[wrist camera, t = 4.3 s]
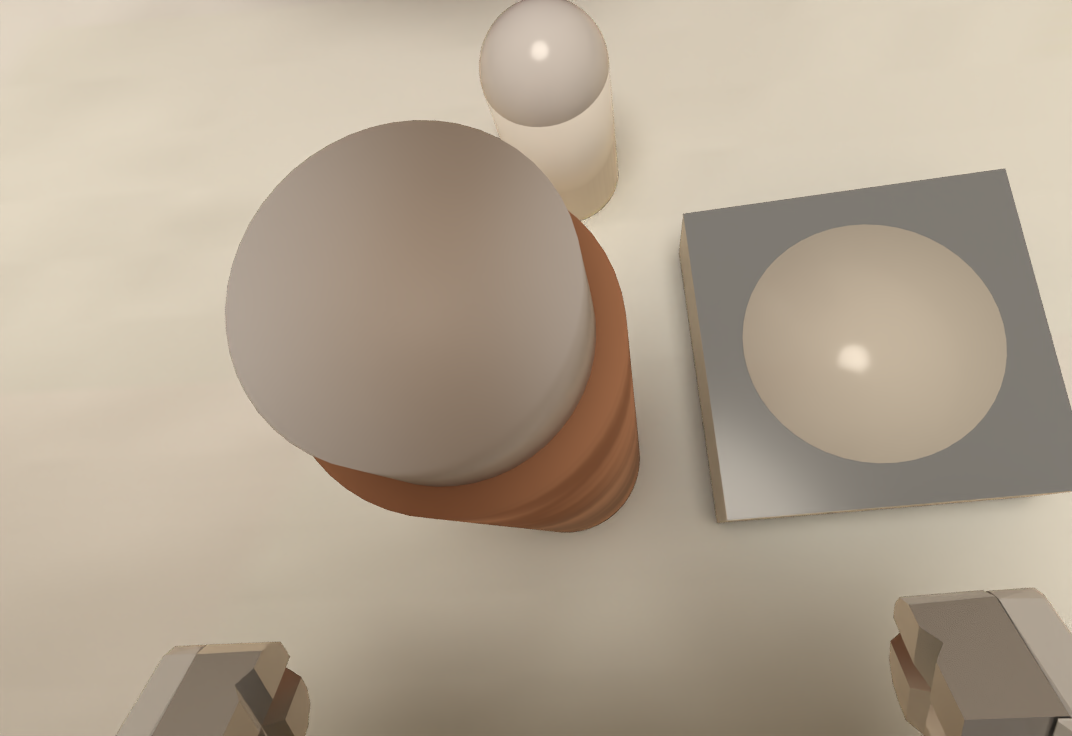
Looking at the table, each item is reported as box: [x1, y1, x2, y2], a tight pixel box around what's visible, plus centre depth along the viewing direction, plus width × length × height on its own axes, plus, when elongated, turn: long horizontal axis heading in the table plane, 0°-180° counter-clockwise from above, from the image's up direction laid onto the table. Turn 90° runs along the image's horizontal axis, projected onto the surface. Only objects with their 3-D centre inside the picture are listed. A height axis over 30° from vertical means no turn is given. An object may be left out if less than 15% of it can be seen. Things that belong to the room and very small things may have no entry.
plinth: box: [679, 169, 1072, 523], centre depth 21 cm, size 9×9×3 cm
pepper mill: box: [225, 120, 640, 532], centre depth 15 cm, size 5×5×16 cm
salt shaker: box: [479, 0, 618, 221], centre depth 22 cm, size 4×4×8 cm
